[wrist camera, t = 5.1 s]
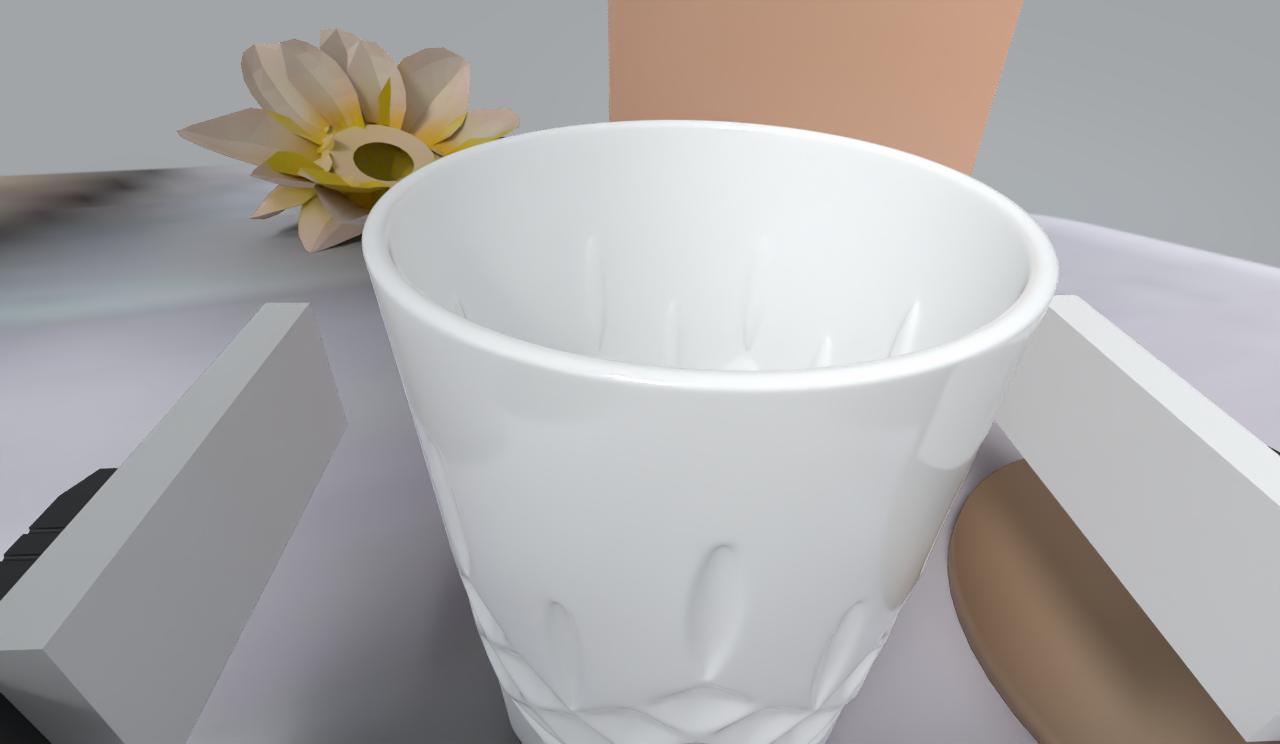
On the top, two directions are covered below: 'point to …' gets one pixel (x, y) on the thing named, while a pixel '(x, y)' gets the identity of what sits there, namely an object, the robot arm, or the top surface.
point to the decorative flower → (346, 126)
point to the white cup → (697, 407)
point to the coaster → (1067, 627)
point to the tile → (817, 67)
